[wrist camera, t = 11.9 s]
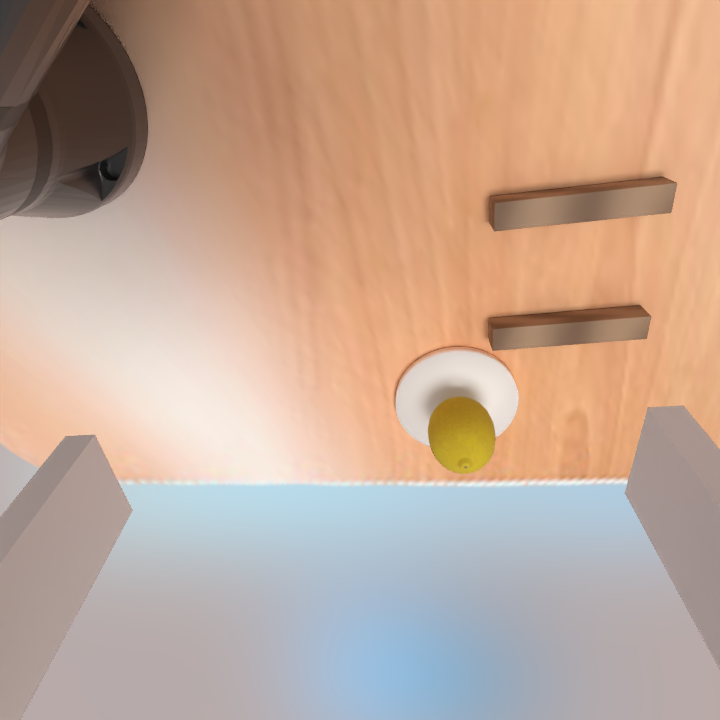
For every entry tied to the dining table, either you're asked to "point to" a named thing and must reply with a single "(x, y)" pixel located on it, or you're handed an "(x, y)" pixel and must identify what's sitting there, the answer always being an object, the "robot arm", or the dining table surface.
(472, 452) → the lemon
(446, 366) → the saucer
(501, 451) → the dining table surface
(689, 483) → the robot arm
